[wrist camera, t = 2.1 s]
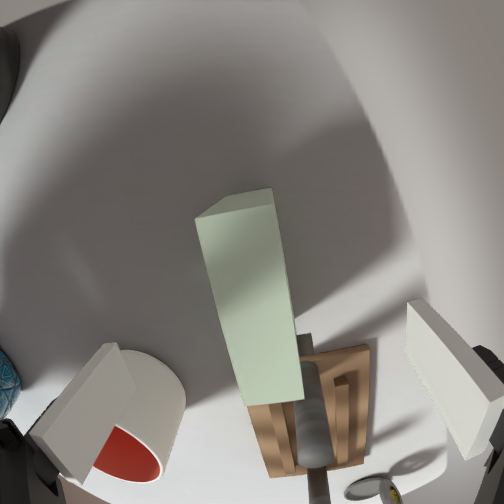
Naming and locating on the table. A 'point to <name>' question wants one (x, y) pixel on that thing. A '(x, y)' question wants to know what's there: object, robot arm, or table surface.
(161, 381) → the cup
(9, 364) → the lamp
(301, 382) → the door
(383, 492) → the pocket watch
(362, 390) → the hinge board
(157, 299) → the table surface
